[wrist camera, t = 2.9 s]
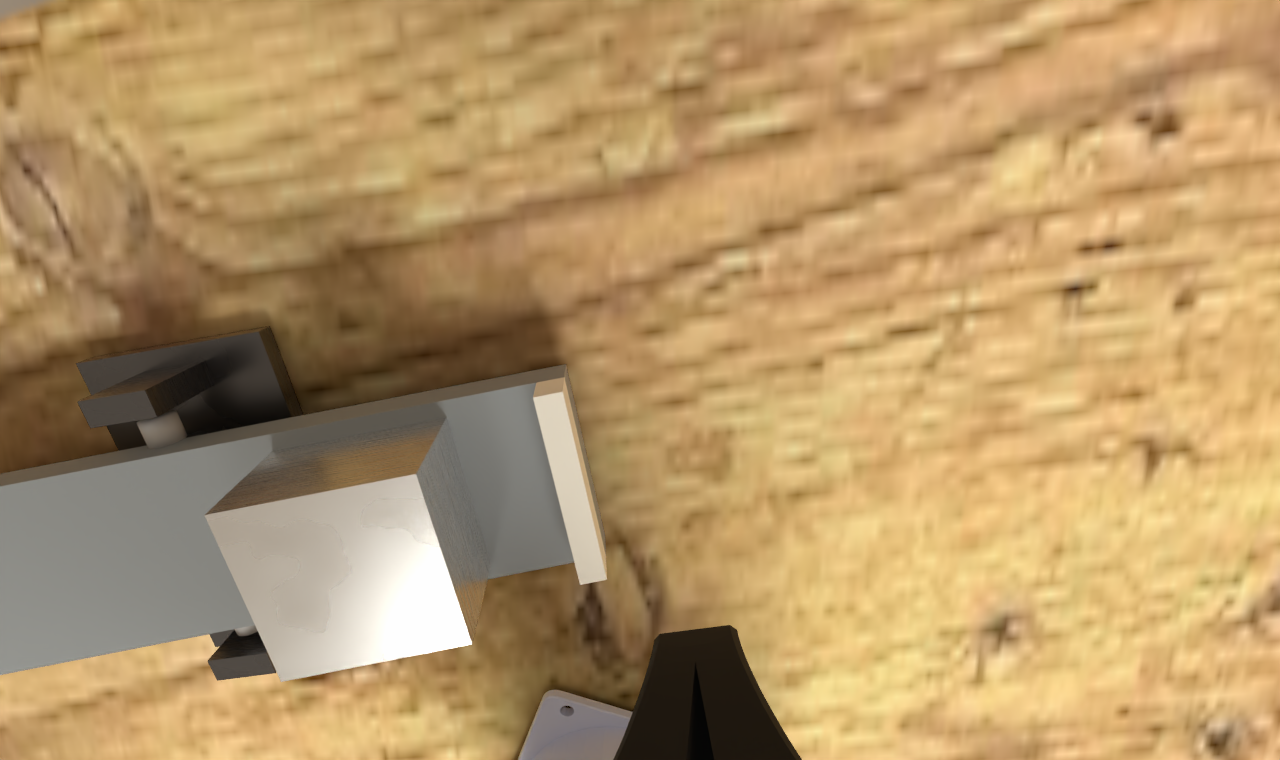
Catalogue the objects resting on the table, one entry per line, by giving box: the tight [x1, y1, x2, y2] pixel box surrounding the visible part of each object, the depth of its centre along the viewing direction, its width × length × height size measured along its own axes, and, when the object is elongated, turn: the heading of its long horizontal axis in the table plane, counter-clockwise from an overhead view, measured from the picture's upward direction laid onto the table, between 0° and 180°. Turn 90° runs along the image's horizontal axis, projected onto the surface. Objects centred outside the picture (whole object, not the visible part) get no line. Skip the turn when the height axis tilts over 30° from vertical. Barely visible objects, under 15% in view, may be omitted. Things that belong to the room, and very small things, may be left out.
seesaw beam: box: [0, 364, 607, 675], centre depth 20 cm, size 24×8×3 cm, turn 100°
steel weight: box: [204, 417, 491, 682], centre depth 18 cm, size 5×5×4 cm
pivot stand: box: [76, 326, 303, 680], centre depth 21 cm, size 6×11×3 cm, turn 10°
